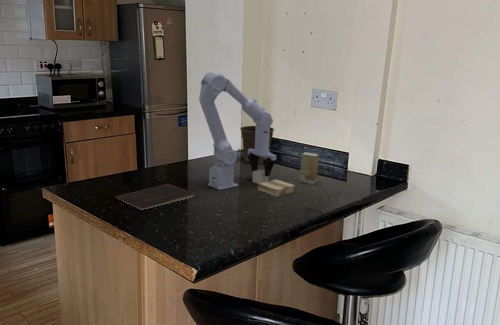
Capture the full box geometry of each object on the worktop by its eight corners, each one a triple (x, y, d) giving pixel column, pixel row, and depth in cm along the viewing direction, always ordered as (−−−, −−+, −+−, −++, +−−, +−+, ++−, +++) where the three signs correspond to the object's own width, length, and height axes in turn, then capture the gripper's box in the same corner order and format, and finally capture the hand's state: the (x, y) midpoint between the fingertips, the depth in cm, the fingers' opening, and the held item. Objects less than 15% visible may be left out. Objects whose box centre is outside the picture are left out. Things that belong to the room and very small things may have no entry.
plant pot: (244, 165, 208) (245, 131, 204) (235, 157, 224) (236, 125, 220) (277, 164, 213) (278, 131, 209) (266, 156, 228) (268, 125, 224)
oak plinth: (276, 197, 167) (276, 190, 166) (258, 191, 174) (258, 183, 173) (294, 192, 173) (294, 185, 172) (275, 186, 180) (276, 179, 180)
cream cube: (260, 184, 181) (260, 173, 180) (252, 181, 184) (252, 171, 183) (268, 182, 184) (268, 171, 183) (260, 180, 187) (260, 169, 186)
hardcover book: (195, 199, 162) (195, 193, 162) (141, 214, 146) (141, 207, 145) (167, 188, 173) (167, 183, 172) (114, 202, 156) (114, 196, 155)
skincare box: (298, 182, 185) (300, 153, 182) (302, 179, 189) (304, 151, 186) (313, 184, 183) (315, 155, 180) (317, 182, 186) (319, 153, 183)
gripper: (282, 143, 177) (280, 176, 180) (256, 137, 187) (255, 168, 191) (269, 145, 172) (268, 179, 176) (244, 139, 183) (243, 171, 186)
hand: (260, 173), depth 183 cm, fingers open, 7 cm apart
